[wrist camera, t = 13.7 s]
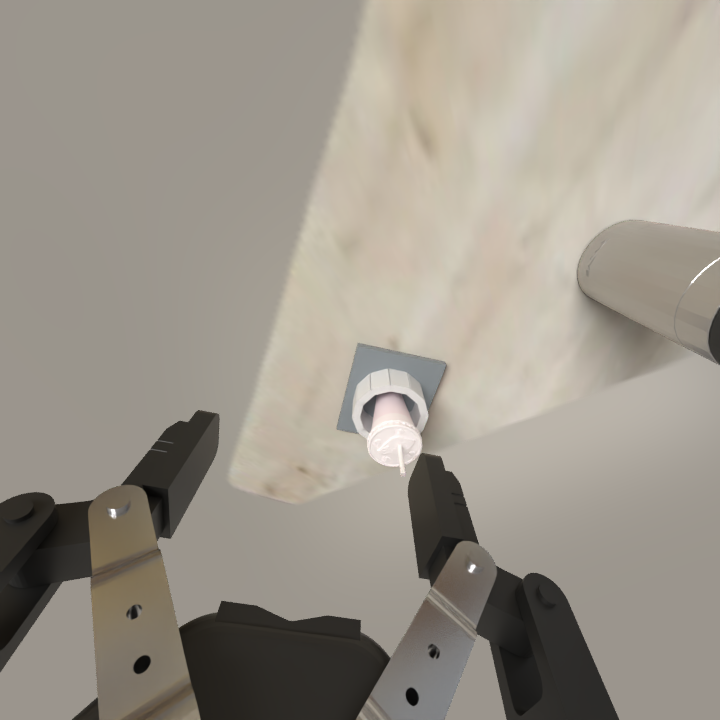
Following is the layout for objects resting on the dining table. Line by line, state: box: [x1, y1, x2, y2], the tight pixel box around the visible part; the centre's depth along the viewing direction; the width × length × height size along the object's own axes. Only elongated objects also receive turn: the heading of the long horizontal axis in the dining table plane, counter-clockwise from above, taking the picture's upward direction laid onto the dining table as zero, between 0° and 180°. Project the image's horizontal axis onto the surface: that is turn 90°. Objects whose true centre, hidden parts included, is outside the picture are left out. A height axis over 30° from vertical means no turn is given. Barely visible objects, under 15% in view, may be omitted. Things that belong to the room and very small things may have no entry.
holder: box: [337, 343, 446, 439], centre depth 46 cm, size 12×14×5 cm
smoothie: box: [367, 391, 422, 477], centre depth 41 cm, size 6×6×14 cm
